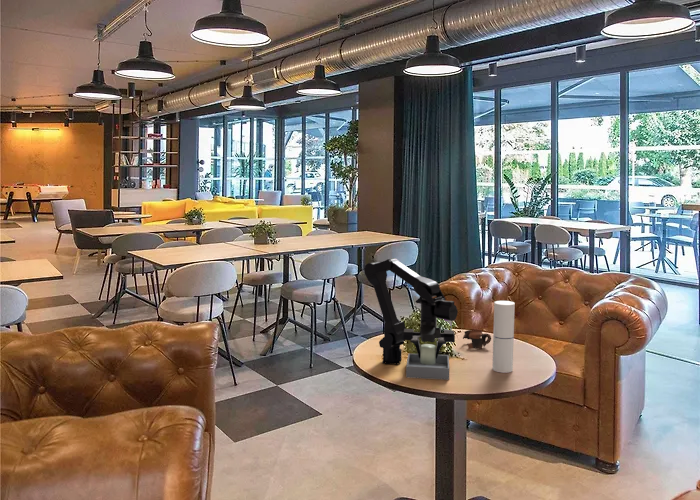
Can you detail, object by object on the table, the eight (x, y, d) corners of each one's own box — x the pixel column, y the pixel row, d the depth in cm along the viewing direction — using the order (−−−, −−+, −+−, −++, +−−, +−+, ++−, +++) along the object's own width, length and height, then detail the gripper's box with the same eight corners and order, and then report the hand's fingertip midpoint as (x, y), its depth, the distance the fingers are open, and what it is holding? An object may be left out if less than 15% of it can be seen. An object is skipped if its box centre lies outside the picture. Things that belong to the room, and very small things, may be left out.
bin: (406, 377, 200) (406, 366, 199) (408, 363, 214) (408, 353, 214) (449, 379, 197) (449, 368, 197) (448, 365, 212) (448, 355, 211)
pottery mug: (460, 349, 233) (459, 330, 236) (468, 354, 240) (466, 335, 244) (489, 346, 227) (487, 326, 231) (496, 350, 235) (494, 331, 238)
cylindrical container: (501, 373, 203) (503, 305, 199) (488, 368, 209) (490, 301, 206) (516, 370, 206) (519, 303, 203) (502, 364, 212) (505, 299, 209)
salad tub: (420, 364, 203) (420, 348, 202) (420, 359, 208) (420, 343, 208) (435, 365, 202) (435, 348, 201) (435, 360, 208) (435, 344, 207)
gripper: (401, 321, 197) (400, 364, 199) (455, 323, 194) (454, 366, 196) (403, 313, 207) (402, 354, 210) (454, 315, 205) (453, 356, 207)
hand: (427, 358), depth 205 cm, fingers closed on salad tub, 5 cm apart
